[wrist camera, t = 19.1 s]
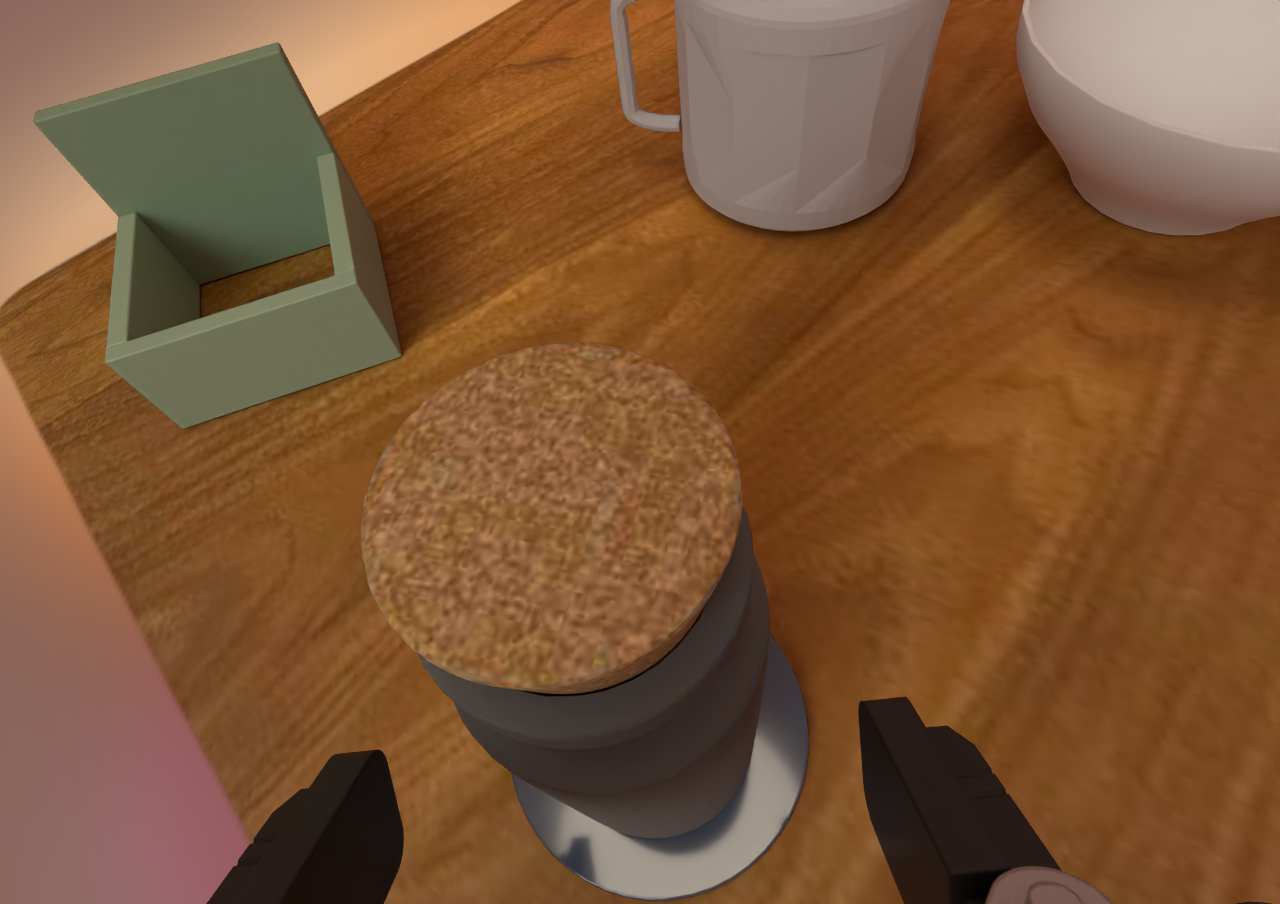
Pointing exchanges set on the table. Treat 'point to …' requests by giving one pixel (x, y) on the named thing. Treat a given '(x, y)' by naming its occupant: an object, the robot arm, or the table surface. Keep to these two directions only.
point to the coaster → (711, 847)
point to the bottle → (580, 579)
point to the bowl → (1160, 106)
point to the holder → (226, 234)
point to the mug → (793, 102)
